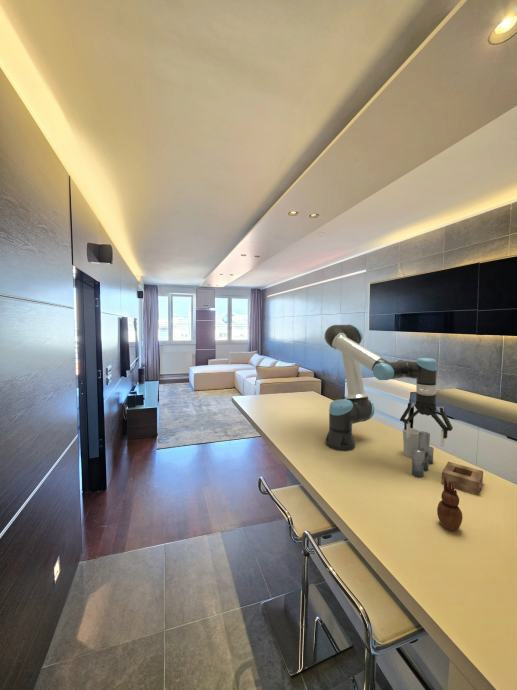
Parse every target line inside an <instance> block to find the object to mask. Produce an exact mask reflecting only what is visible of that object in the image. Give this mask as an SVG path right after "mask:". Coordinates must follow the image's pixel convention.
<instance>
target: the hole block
mask: <svg viewBox="0 0 517 690" xmlns="http://www.w3.org/2000/svg"><path fill="white" fill-rule="evenodd" d="M444 478H446V481H447V485H449V482H451V488H452V486H454V489H455V490H459V489H460V490H459V491H463V492H465V493H469V494H473V495H475V496H479V495H480V492H481V489H482V485H483V482H484V481H483V480H484V470H480V469H478V468H473V467H469V466H466V465H463V464H458V463H456V462H451V461H448V462H447V463H446V464H445V466H444V468H443V470H442V471H441V485H444Z"/></svg>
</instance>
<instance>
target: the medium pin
mask: <svg viewBox="0 0 517 690" xmlns="http://www.w3.org/2000/svg"><path fill="white" fill-rule="evenodd" d="M424 452H425V451H424V450H423V449H421V448H413V454H412V457H411V460H412V461H411V475H412V476H413V477H415V478H418V479H419V478H420V479H421V478H423V477H424V474H425V471H424Z"/></svg>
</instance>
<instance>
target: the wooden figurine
mask: <svg viewBox="0 0 517 690" xmlns="http://www.w3.org/2000/svg"><path fill="white" fill-rule="evenodd" d="M440 495H441V499H440V500H439V502H438V504H437V508H436V512H437V518H438V520H439V522H440V524H441V525H442V527H444V528H445V529H447V530H449V531H456V530H459V529H460V527H461V525H462V522H463V513H462V510H461V508H460V507H459V504H460V497H459V495H458V492H457V489H455V488H454V486H452V487H451V482H449V485H447V481H446V478H444V484H443V491H442V492H441V494H440Z"/></svg>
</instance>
